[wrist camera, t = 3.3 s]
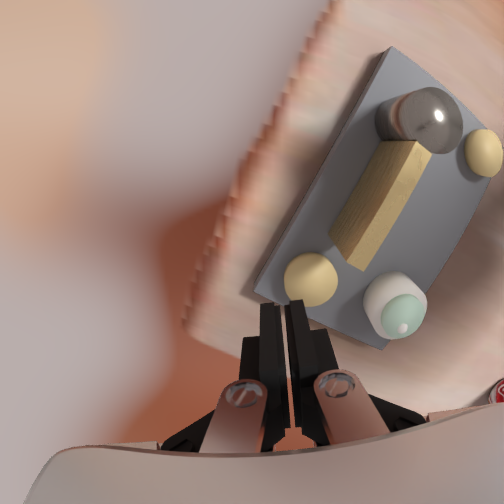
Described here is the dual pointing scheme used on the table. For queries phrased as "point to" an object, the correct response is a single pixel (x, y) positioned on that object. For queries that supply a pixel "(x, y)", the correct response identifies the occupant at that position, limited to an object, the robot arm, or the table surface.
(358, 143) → the base
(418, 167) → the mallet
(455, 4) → the table surface
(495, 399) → the soda can
